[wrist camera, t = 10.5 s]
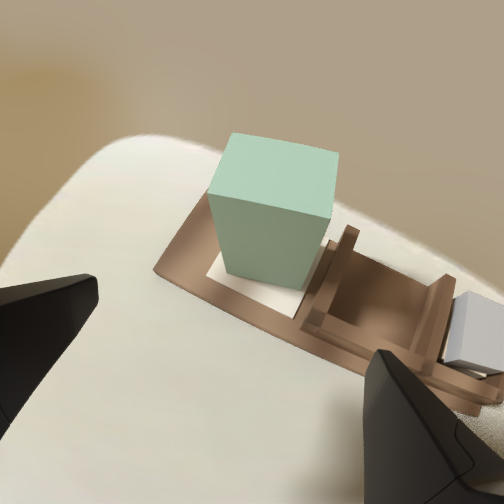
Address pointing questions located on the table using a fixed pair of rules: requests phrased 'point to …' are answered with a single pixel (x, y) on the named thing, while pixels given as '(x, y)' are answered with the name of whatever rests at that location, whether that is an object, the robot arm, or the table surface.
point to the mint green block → (272, 207)
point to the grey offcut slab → (476, 334)
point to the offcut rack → (334, 308)
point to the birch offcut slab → (444, 346)
